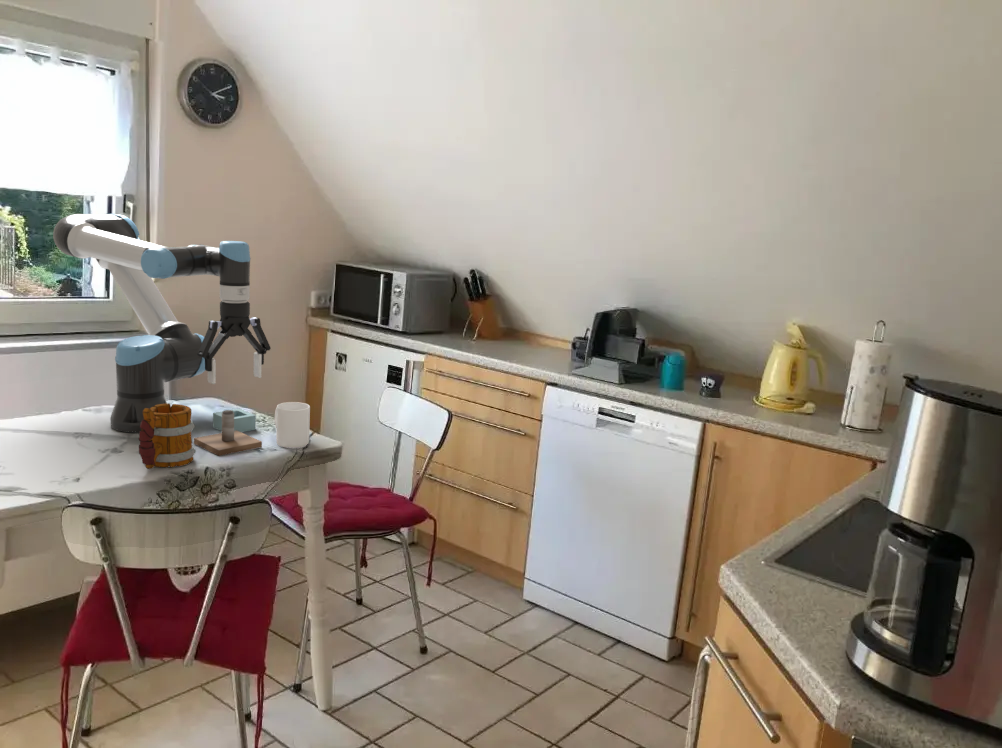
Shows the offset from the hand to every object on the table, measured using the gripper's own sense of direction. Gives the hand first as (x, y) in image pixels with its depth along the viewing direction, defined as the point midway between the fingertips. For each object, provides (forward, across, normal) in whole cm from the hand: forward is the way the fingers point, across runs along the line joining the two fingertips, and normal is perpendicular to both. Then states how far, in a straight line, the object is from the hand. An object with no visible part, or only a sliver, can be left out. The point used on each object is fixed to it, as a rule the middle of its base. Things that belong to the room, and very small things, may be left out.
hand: (235, 379), depth 228 cm
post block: (+14, -9, -12) cm, 20 cm away
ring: (+14, 0, 0) cm, 14 cm away
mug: (+14, -28, -15) cm, 35 cm away
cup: (+14, +5, -18) cm, 23 cm away
